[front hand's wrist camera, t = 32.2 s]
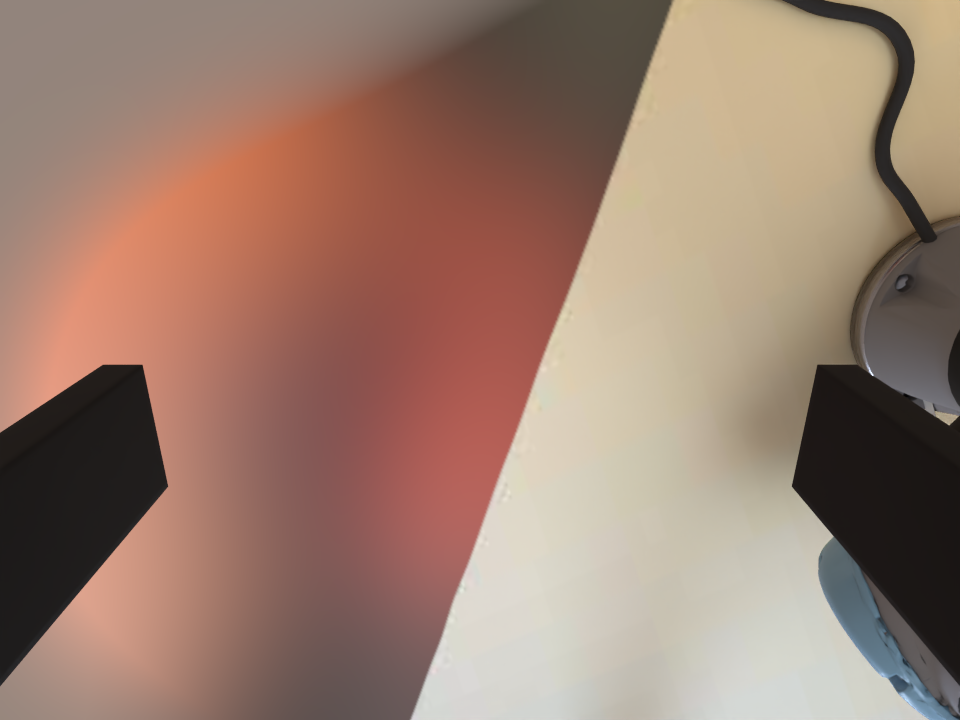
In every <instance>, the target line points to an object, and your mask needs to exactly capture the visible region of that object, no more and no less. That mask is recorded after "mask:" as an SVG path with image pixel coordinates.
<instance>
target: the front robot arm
mask: <svg viewBox="0 0 960 720" xmlns="http://www.w3.org/2000/svg"><path fill="white" fill-rule="evenodd" d="M783 1H785V2H788V3H790V4H792V5H794V6H796V7H798V8H800V9H803V10H805V11H807V12H810V13H813V14H816V15H819V16H824V17H828V18H834V19H839V20H846V21H852V22H858V23H862V24H867V25H870V26H873V27H875V28H877V29H879V30H880V31H881V32H883V33H884V34H885V35H886V36H887V37H888V38H889V39H890V40H891V42H892V44H893V46H894V47H895V50H896V53H897V56H898V63H899V68H898V76H897V80H896V84H895V86H894V89H893V92H892V95H891V97H890V100H889V102H888V105H887V107H886V110H885V112H884V115H883V117H882V120H881V123H880V126H879V129H878V133H877V138H876V145H875V158H876V165H877V169H878V172H879V174H880V176H881V178H882V180H883V181H884V183H885V184H886V186H887V187H888V188H889V190H890V191H891V192H892V193H893V194H894V196H895V197H896V198H897V200H898V201H899V203H900V204H901V206H902V207H903V209H904V211H905V212H906V214H907V216H908V218H909V219H910V221H911V223H912V224H913V226H914V228H915V230H916V231H917V232H915V233H914V234H912V235H911V236H909V237H907V238H906V239H905V240H903V241H902V242H901V243H899V244H898V245H897V246H895V247H894V248H893V249H892V250H891V251H890V252H889V253H888V254H887V255H886V256H885V257H884V258H883V259H882V260H881V261H880V262H879V263H878V265H877V266H876V267H875V268H874V269H873V271H872V272H871V274H870V275H869V277H868V278H867V280H866V282H865V283H864V285H863V287H862V289H861V291H860V293H859V295H858V298H857V300H856V303H855V306H854V310H853V314H852V320H851V331H850V333H851V344H852V350H853V353H854V356H855V359H856V361H857V364H858V365H859V366H858V365H817V370H816V374H815V379H814V384H813V389H812V393H811V398H810V403H809V408H808V412H807V417H806V422H805V427H804V431H803V436H802V441H801V446H800V450H799V455H798V460H797V465H796V469H795V474H794V479H793V484H792V487H793V488H794V490H795V491H796V492H797V493H798V494H799V496H800V497H801V498H802V499H803V500H804V501H805V503H806V504H807V505H808V506H809V507H810V509H811V510H812V511H813V512H814V513H815V515H816V516H817V517H818V518H819V519H820V521H821V522H822V523H823V524H824V525H825V526H826V528H827V529H828V530H829V531H830V532H831V534H832V535H833V536H834V537H833V538H832V539H831V540H830V541H829V542H828V543H827V544H826V545H825V547H824V548H823V550H822V551H821V553H820V556H819V570H818V575H819V580H820V584H821V587H822V590H823V592H824V595H825V597H826V599H827V601H828V603H829V605H830V607H831V609H832V611H833V613H834V614H835V616H836V618H837V619H838V621H839V622H840V624H841V625H842V627H843V629H844V630H845V631H846V633H847V634H848V636H849V637H850V639H851V640H852V641H853V643H854V644H855V645H856V647H857V648H858V649H859V651H860V652H861V653H862V655H863V656H864V657H865V658H866V659H867V661H868V662H869V663H870V664H871V666H872V667H873V668H874V669H875V670H876V671H877V672H878V673H879V674H880V675H881V676H882V677H886V678H888V679H889V680H890V682H891V684H892V685H893V687H894V688H895V690H896V691H897V692H898V694H899V695H900V696H901V697H902V698H903V699H904V700H905V701H907V702H908V703H909V704H910V705H911V706H912V707H913V708H914V709H916V710H917V711H918V712H919V713H921V714H922V715H923V716H925V717H926V718H928V719H929V720H960V216H959V217H954V218H949V219H945V220H942V221H939V222H937V223H934V224H932V225H930V223H929V222H928V220H927V218H926V216H925V215H924V213H923V211H922V210H921V208H920V206H919V204H918V203H917V201H916V199H915V198H914V196H913V195H912V193H911V192H910V190H909V189H908V188H907V187H906V185H905V184H904V183H903V182H902V180H901V179H900V178H899V176H898V175H897V173H896V172H895V170H894V168H893V165H892V162H891V157H890V143H891V137H892V133H893V129H894V126H895V123H896V120H897V118H898V115H899V113H900V110H901V108H902V106H903V103H904V101H905V98H906V96H907V93H908V91H909V88H910V85H911V81H912V77H913V73H914V64H915V60H914V50H913V47H912V44H911V41H910V39H909V37H908V35H907V33H906V32H905V30H904V29H903V28H902V27H901V26H900V24H899V23H898V22H896V21H895V20H894V19H892V18H891V17H889V16H887V15H885V14H883V13H881V12H878V11H875V10H872V9H868V8H864V7H858V6H852V5H846V4H840V3H834V2H829V1H825V0H783ZM925 409H926V410H925ZM935 411H938V412H943V413H949V414H954V415H959V417H958V418H957V419H956V420H955V421H954V422H953V423H952V424H951V425H947V424H946V423H944V422H943V421H941V420H940V419H938V418H937V417H936V415H935ZM167 487H168V484H167V479H166V474H165V470H164V465H163V460H162V455H161V451H160V446H159V441H158V436H157V431H156V427H155V422H154V417H153V413H152V408H151V403H150V398H149V394H148V389H147V384H146V379H145V375H144V370H143V365H102V366H100V367H99V368H97V369H96V370H94V371H93V372H91V373H90V374H88V375H87V376H85V377H84V378H82V379H81V380H79V381H78V382H76V383H75V384H73V385H72V386H70V387H69V388H67V389H66V390H64V391H63V392H61V393H60V394H58V395H57V396H55V397H54V398H52V399H51V400H49V401H48V402H46V403H45V404H43V405H41V406H40V407H39V408H37V409H35V410H34V411H33V412H31V413H29V414H28V415H26V416H25V417H23V418H22V419H20V420H19V421H17V422H16V423H14V424H13V425H11V426H10V427H8V428H7V429H5V430H4V431H2V432H1V433H0V686H1V685H2V683H3V682H4V681H5V680H6V679H7V677H8V676H9V675H10V674H11V673H12V672H13V670H14V669H15V668H16V667H17V666H18V664H19V663H20V662H21V661H22V660H23V658H24V657H25V656H26V655H27V654H28V652H29V651H30V650H31V649H32V648H33V647H34V645H35V644H36V643H37V642H38V641H39V639H40V638H41V637H42V636H43V635H44V633H45V632H46V631H47V630H48V629H49V627H50V626H51V625H52V624H53V623H54V622H55V620H56V619H57V618H58V617H59V616H60V614H61V613H62V612H63V611H64V610H65V609H66V607H67V606H68V605H69V604H70V603H71V601H72V600H73V599H74V598H75V597H76V595H77V594H78V593H79V592H80V591H81V589H82V588H83V587H84V586H85V585H86V584H87V582H88V581H89V580H90V579H91V578H92V576H93V575H94V574H95V573H96V572H97V570H98V569H99V568H100V567H101V566H102V565H103V563H104V562H105V561H106V560H107V558H108V557H109V556H110V555H111V554H112V553H113V551H114V550H115V549H116V548H117V547H118V545H119V544H120V543H121V542H122V541H123V540H124V538H125V537H126V536H127V535H128V534H129V532H130V531H131V530H132V529H133V528H134V526H135V525H136V524H137V523H138V522H139V521H140V519H141V518H142V517H143V516H144V515H145V513H146V512H147V511H148V510H149V509H150V507H151V506H152V505H153V504H154V503H155V501H156V500H157V499H158V498H159V497H160V496H161V494H162V493H163V492H164V491H165V490H166V488H167Z"/></svg>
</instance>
